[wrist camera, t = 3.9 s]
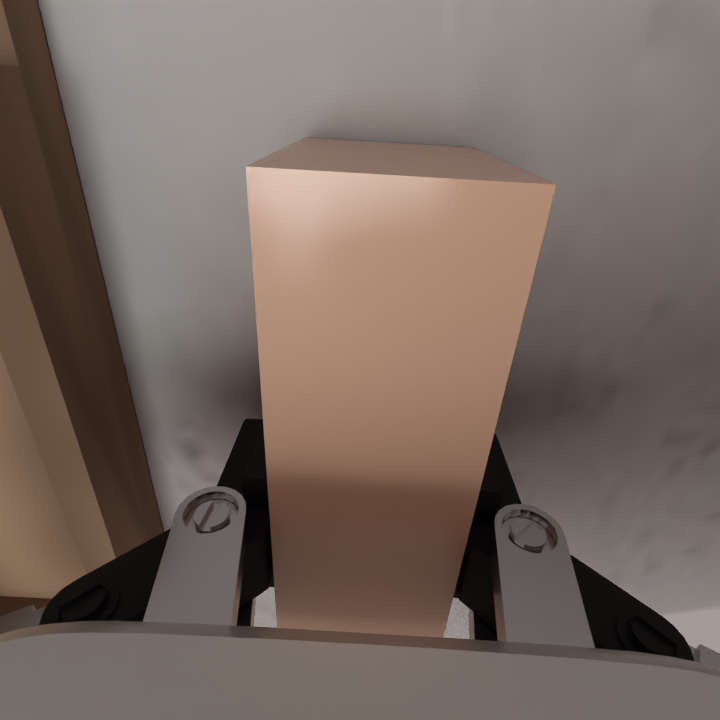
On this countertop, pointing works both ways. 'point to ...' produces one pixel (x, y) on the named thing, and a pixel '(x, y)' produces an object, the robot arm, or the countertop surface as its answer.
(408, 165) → the clay block
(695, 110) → the countertop surface
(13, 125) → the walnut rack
